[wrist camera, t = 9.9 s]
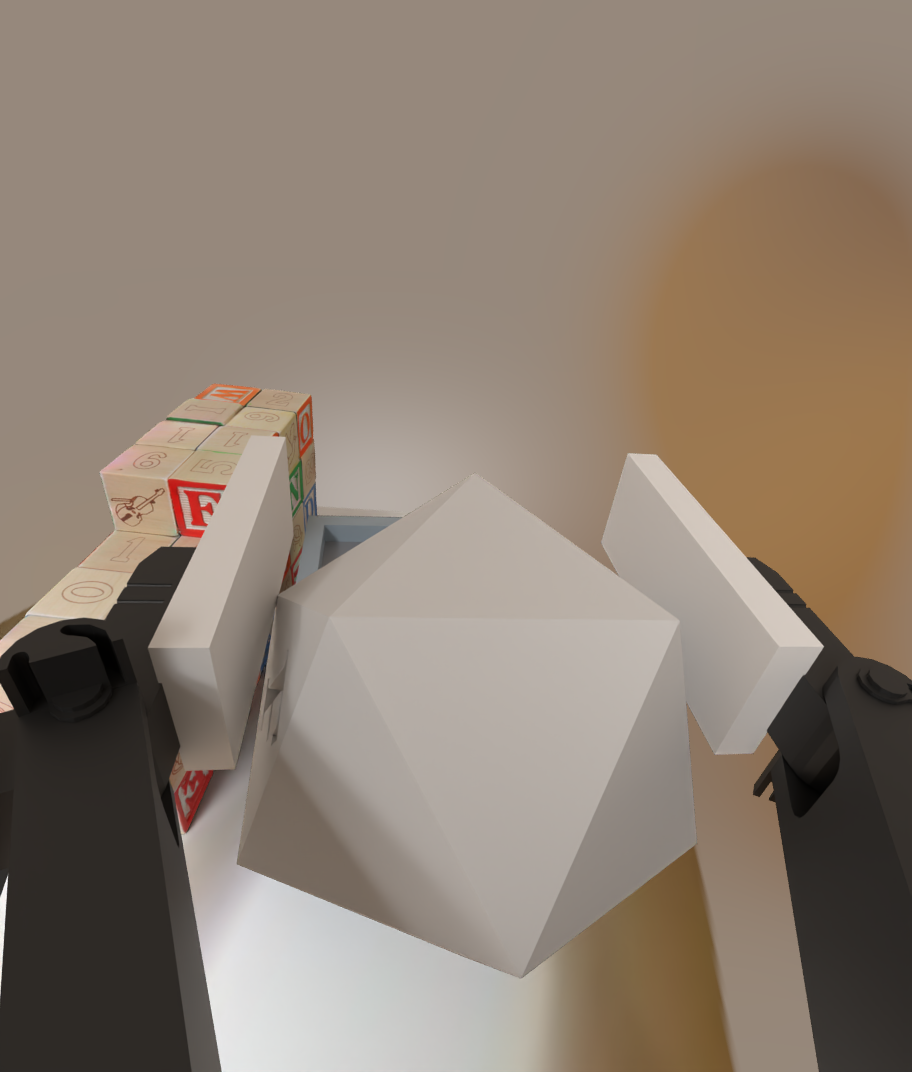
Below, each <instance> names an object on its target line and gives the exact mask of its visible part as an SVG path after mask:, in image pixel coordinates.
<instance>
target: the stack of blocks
mask: <svg viewBox="0 0 912 1072" xmlns="http://www.w3.org/2000/svg"><path fill="white" fill-rule="evenodd" d="M251 435H255V436H276V437H286V447H287V459H288V471H289V484H290V496H291V509H292V521H293V533H294V536H293V540H292V544H291V548H290V552H289V556H288V560H287V564H286V568H285V572H284V576H283V580H282V584H281V588H280V592H279V594H280V593H282V592H283V591H285V590H287V589H288V588H290V587H291V586H293V585H295V584H296V579H297V574H298V569H299V563H300V558H301V553H302V548H303V542H304V537H305V532H306V527H307V521H308V516H309V515H313V516H317V505H316V482H315V479H316V472H315V449H314V439H313V418H312V398H311V395H309V394H303V393H296V392H288V391H280V390H271V389H263V390H261V389H259V388H252V387H243V386H233V385H222V384H212V385H211V386H209V387H208V388H207V389H206V390H205V391H203V392H202V393H200V394H199V395H198V396H196V397H195V398H194V399H188V400H187V401H185V402H184V403H183V404H181V405H180V406H179V407H178V408H176V409H175V410H174V411H173V412H171V413H170V414H169V415H168V416H167V419H166V420H165V421H161V422H160V423H158V424H157V425H156V426H155V427H153V428H152V429H151V430H149V431H148V432H147V433H146V434H145V435H144V436H142V437H141V438H140V439H138V440H137V442H136V444H135V445H132V446H131V447H130V448H128V449H127V450H126V451H125V452H123V453H122V454H121V455H120V456H118V457H117V458H116V459H115V460H113V461H112V462H111V463H110V464H109V465H107V466H106V467H105V468H103V469H102V470H101V471H100V473H99V474H100V476H101V480H102V484H103V487H104V491H105V494H106V498H107V502H108V505H109V509H110V513H111V517H112V521H113V524H114V528H115V530H114V531H113V532H112V533H111V534H110V535H109V536H108V537H107V538H106V539H105V540H104V541H103V542H102V543H101V544H100V545H99V546H98V547H97V548H96V549H95V550H94V551H93V552H92V553H91V554H90V555H89V556H88V557H87V558H85V559H84V560H83V561H82V562H81V563H80V565H79V566H78V567H77V568H74V569H72V570H71V571H70V572H69V573H68V574H67V575H66V576H65V577H64V578H63V579H62V580H60V582H59V583H57V584H56V585H55V586H54V587H53V588H52V589H51V590H50V591H49V592H48V593H47V594H46V595H45V596H44V597H43V598H42V599H41V600H39V601H38V602H37V603H36V604H35V605H34V606H33V607H32V608H31V609H30V610H29V611H28V612H27V613H26V615H25V618H24V619H22V620H21V621H20V622H19V623H18V624H17V625H16V626H15V627H14V628H12V629H11V630H10V631H9V632H8V633H7V634H6V635H5V636H4V637H3V638H2V639H1V640H0V657H1V655H2V654H3V653H5V652H6V651H7V650H8V649H9V648H10V647H11V646H12V645H13V644H14V643H15V642H16V641H17V640H19V639H20V638H22V637H24V636H25V635H27V634H29V633H31V632H32V631H34V630H36V629H37V628H40V627H43V626H46V625H49V624H52V623H55V622H58V621H61V620H68V619H76V618H83V617H85V618H93V619H101V620H105V618H106V617H107V615H108V613H109V612H110V610H111V608H112V607H113V605H114V604H117V598H118V597H119V595H120V593H121V592H122V590H123V589H124V587H127V582H128V580H129V579H130V577H131V575H132V574H133V572H134V570H135V569H136V567H137V566H138V564H139V563H140V562H141V561H143V560H144V559H145V558H147V557H148V556H149V555H150V554H152V553H153V552H154V551H156V550H157V549H158V548H160V547H161V546H162V547H197V546H198V544H199V542H200V540H201V538H202V535H203V533H204V531H205V529H206V527H207V525H208V523H209V521H210V519H211V517H212V515H213V513H214V511H215V509H216V507H217V505H218V503H219V500H220V498H221V496H222V494H223V492H224V490H225V488H226V486H227V484H228V482H229V480H230V478H231V476H232V474H233V472H234V470H235V468H236V466H237V463H238V461H239V459H240V457H241V455H242V453H243V451H244V449H245V447H246V445H247V443H248V441H249V439H250V437H251ZM274 613H275V612H274ZM273 620H274V616H273ZM273 620H272V624H271V628H270V632H269V636H268V640H267V644H266V648H265V652H264V656H263V660H262V664H261V668H260V672H259V676H258V680H257V683H258V681H259V679H260V677H261V672H262V670H263V668H264V666H265V663H266V661H267V659H268V653H269V646H270V640H271V633H272V627H273ZM256 685H257V684H256ZM12 709H14V708H13V706H12V704H11V702H10V701H9V699H8V697H7V695H6V693H5V691H4V689H3V688H2V686H1V684H0V713H3V712H6V711H9V710H12ZM213 771H214V770H196V771H185V769H184V766H183V763H182V759H181V756H180V753H179V752H178V755H177V758H176V760H175V763H174V766H173V769H172V772H171V775H170V778H169V779H170V782H171V785H172V788H173V791H174V796H175V802H176V808H177V813H178V819H179V825H180V831H181V834H185V833H186V832H187V830H188V828H189V826H190V823H191V821H192V819H193V817H194V814H195V812H196V810H197V808H198V805H199V803H200V801H201V799H202V797H203V794H204V792H205V790H206V788H207V786H208V783H209V781H210V779H211V777H212V775H213Z"/></svg>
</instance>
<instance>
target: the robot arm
mask: <svg viewBox="0 0 912 1072" xmlns="http://www.w3.org/2000/svg"><path fill="white" fill-rule="evenodd" d="M293 536H294V533H293V521H292V509H291V496H290V484H289V471H288V459H287V447H286V437H276V436H255V435H251V437H250V439H249V441H248V443H247V445H246V447H245V449H244V451H243V453H242V455H241V457H240V459H239V461H238V463H237V466H236V468H235V470H234V472H233V474H232V476H231V478H230V480H229V482H228V484H227V486H226V488H225V490H224V492H223V494H222V496H221V498H220V500H219V503H218V505H217V507H216V509H215V511H214V513H213V515H212V517H211V519H210V521H209V523H208V525H207V527H206V529H205V531H204V533H203V535H202V538H201V540H200V542H199V544H198V546H197V547H162V546H161V547H160V548H158V549H157V550H156V551H154V552H153V553H152V554H150V555H149V556H148V557H147V558H145V559H144V560H143V561H141V562H140V563H139V564H138V566H137V567H136V569H135V570H134V572H133V574H132V575H131V577H130V579H129V580H128V582H127V587H124V589H123V590H122V592H121V593H120V595H119V597H118V598H117V604H114V605H113V607H112V608H111V610H110V612H109V613H108V615H107V617H106V618H105V620H101V619H93V618H85V617H83V618H76V619H68V620H61V621H58V622H55V623H52V624H49V625H46V626H43V627H40V628H37V629H36V630H34V631H32V632H31V633H29V634H27V635H25V636H24V637H22V638H20V639H19V640H17V641H16V642H15V643H14V644H13V645H12V646H11V647H10V648H9V649H8V650H7V651H6V652H5V653H3V654H2V655H1V657H0V684H1V686H2V688H3V689H4V691H5V693H6V695H7V697H8V699H9V701H10V702H11V704H12V706H13V708H14V709H12V710H9V711H6V712H3V713H0V896H1V893H2V890H3V887H4V884H5V881H6V878H7V876H8V887H7V902H6V918H5V933H4V949H3V964H2V980H1V995H0V1072H222V1071H221V1065H220V1060H219V1054H218V1048H217V1042H216V1036H215V1030H214V1024H213V1019H212V1013H211V1007H210V1001H209V995H208V989H207V983H206V977H205V972H204V966H203V960H202V954H201V948H200V942H199V936H198V931H197V925H196V919H195V913H194V907H193V901H192V895H191V890H190V884H189V878H188V872H187V866H186V860H185V854H184V849H183V843H182V837H181V831H180V825H179V819H178V813H177V808H176V802H175V796H174V791H173V788H172V785H171V782H170V779H169V778H170V775H171V772H172V769H173V766H174V763H175V760H176V758H177V755H178V752H179V753H180V756H181V759H182V763H183V766H184V769H185V771H196V770H229V769H235V768H236V764H237V760H238V756H239V752H240V748H241V744H242V740H243V736H244V732H245V728H246V724H247V720H248V716H249V712H250V708H251V704H252V700H253V696H254V692H255V688H256V684H257V680H258V676H259V672H260V668H261V664H262V660H263V656H264V652H265V648H266V644H267V640H268V636H269V632H270V628H271V624H272V620H273V616H274V612H275V608H276V603H277V596H278V594H279V592H280V588H281V584H282V580H283V576H284V572H285V568H286V564H287V560H288V556H289V552H290V548H291V544H292V540H293ZM601 544H602V546H603V547H604V549H605V551H606V553H607V555H608V557H609V559H610V560H611V562H612V564H613V566H614V568H615V570H616V572H617V574H618V576H619V577H620V578H622V579H623V580H625V581H626V582H627V583H629V584H630V585H631V586H633V587H634V588H636V589H637V590H638V591H640V592H641V593H643V594H644V595H645V596H647V597H648V598H649V599H651V600H652V601H654V602H655V603H656V604H658V605H659V606H661V607H662V608H663V609H665V610H666V611H667V612H669V613H670V614H672V615H673V616H674V617H676V618H677V619H678V620H680V629H681V642H682V655H683V668H684V681H685V694H686V702H687V704H688V706H689V708H690V710H691V712H692V713H693V715H694V717H695V719H696V721H697V723H698V725H699V727H700V729H701V730H702V732H703V734H704V736H705V738H706V740H707V742H708V743H709V745H710V747H711V749H712V751H713V753H714V755H721V754H753V753H754V752H755V750H756V749H757V747H758V746H759V744H760V743H761V741H762V740H763V738H764V737H765V735H766V734H767V732H768V733H769V735H770V736H771V738H772V739H773V741H774V742H775V744H776V746H777V747H778V749H779V750H778V751H777V753H776V754H775V756H774V757H773V759H772V760H771V762H770V763H769V764H768V766H767V767H766V769H765V770H764V772H763V773H762V774H761V776H760V777H759V779H758V780H757V782H756V783H755V784H754V791H753V795H755V796H758V797H760V796H761V794H762V793H763V792H764V790H765V789H766V787H767V786H768V785H769V783H770V782H772V783H773V789H774V791H773V793H772V794H771V796H770V798H769V800H770V801H773V802H776V808H777V813H778V820H779V826H780V833H781V839H782V845H783V851H784V857H785V863H786V870H787V876H788V882H789V889H790V894H791V901H792V907H793V913H794V920H795V926H796V932H797V938H798V945H799V951H800V957H801V963H802V969H803V975H804V982H805V987H806V994H807V1001H808V1007H809V1012H810V1019H811V1025H812V1032H813V1038H814V1044H815V1050H816V1057H817V1063H818V1069H819V1072H912V680H910V679H909V678H908V677H907V676H906V675H904V674H902V673H900V672H899V671H897V670H895V669H893V668H892V667H890V666H888V665H885V664H883V663H880V662H878V661H875V660H872V659H867V658H861V657H854V656H853V655H852V654H851V653H850V652H849V650H848V649H847V648H846V647H845V646H844V645H843V644H842V643H841V642H840V641H839V639H838V638H837V637H836V636H835V635H834V634H833V633H832V632H831V631H830V630H829V629H828V627H827V626H826V625H825V624H824V623H823V622H822V621H821V620H820V619H819V618H818V617H817V615H816V614H815V613H814V612H813V611H812V610H811V609H810V608H806V604H805V602H804V601H803V600H802V599H801V598H800V597H799V596H798V595H797V594H796V593H795V594H794V593H793V589H792V588H791V587H790V586H789V585H788V584H787V583H786V582H785V580H784V579H783V578H782V577H781V576H780V575H779V574H778V573H777V572H775V571H774V570H772V569H771V568H770V567H768V566H767V565H765V564H763V563H762V562H761V561H759V560H758V559H756V558H749V557H745V556H744V555H743V553H742V552H741V551H740V550H739V549H738V547H737V546H736V545H735V544H734V543H733V542H732V541H731V539H729V537H728V536H727V535H726V534H725V533H724V532H723V530H722V529H721V528H720V527H719V526H718V525H717V523H716V522H715V521H714V520H713V519H712V518H711V517H710V515H709V514H708V513H707V512H706V511H705V510H704V509H703V507H702V506H701V505H700V504H699V503H698V502H697V501H696V499H695V498H694V497H693V496H692V495H691V494H690V493H689V492H688V490H687V489H686V488H685V487H684V486H683V485H682V483H681V482H680V481H679V480H678V479H677V478H676V477H675V475H674V474H673V473H672V472H671V471H670V470H669V468H668V467H667V466H666V465H665V464H664V463H663V462H662V460H661V459H660V458H659V457H658V456H657V455H650V454H629V453H628V454H627V458H626V461H625V464H624V468H623V471H622V474H621V478H620V481H619V484H618V488H617V491H616V494H615V498H614V501H613V504H612V508H611V512H610V515H609V518H608V521H607V525H606V528H605V531H604V534H603V538H602V541H601Z"/></svg>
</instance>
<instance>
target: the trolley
mask: <svg viewBox="0 0 912 1072" xmlns="http://www.w3.org/2000/svg"><path fill="white" fill-rule="evenodd" d="M401 518H403V517H360V516H313V515H309V516H308V521H307V527H306V532H305V537H304V542H303V548H302V553H301V558H300V563H299V569H298V574H297V579H296V583H298V582H299V581H301V580H303V579H304V578H306V577H307V576H309V575H311V574H312V573H314V572H316V571H317V570H319V569H320V568H322V567H324V566H325V565H327V564H328V563H330V562H332V561H333V560H335V559H336V558H338V557H340V556H341V555H343V554H345V553H346V552H348V551H349V550H351V549H353V548H354V547H356V546H357V545H359V544H361V543H362V542H364V541H365V540H367V539H369V538H370V537H372V536H374V535H375V534H377V533H378V532H380V531H382V530H383V529H385V528H386V527H388V526H390V525H391V524H393V523H395V522H396V521H398V520H399V519H401Z"/></svg>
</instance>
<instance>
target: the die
mask: <svg viewBox="0 0 912 1072" xmlns="http://www.w3.org/2000/svg"><path fill="white" fill-rule="evenodd" d="M696 844H697V834H696V822H695V809H694V796H693V784H692V771H691V758H690V745H689V732H688V719H687V706H686V694H685V681H684V668H683V655H682V642H681V629H680V620H678V619H677V618H676V617H674V616H673V615H672V614H670V613H669V612H667V611H666V610H665V609H663V608H662V607H661V606H659V605H658V604H656V603H655V602H654V601H652V600H651V599H649V598H648V597H647V596H645V595H644V594H643V593H641V592H640V591H638V590H637V589H636V588H634V587H633V586H631V585H630V584H629V583H627V582H626V581H625V580H623V579H622V578H620V577H619V576H617V575H616V574H615V573H613V572H612V571H611V570H609V569H608V568H606V567H605V566H604V565H602V564H601V563H600V562H598V561H597V560H596V559H594V558H593V557H591V556H590V555H589V554H587V553H586V552H584V551H583V550H582V549H580V548H579V547H578V546H576V545H575V544H573V543H572V542H571V541H569V540H568V539H566V538H565V537H564V536H562V535H561V534H559V533H558V532H557V531H555V530H554V529H553V528H551V527H550V526H548V525H547V524H546V523H544V522H543V521H542V520H540V519H539V518H537V517H536V516H535V515H533V514H532V513H531V512H529V511H528V510H526V509H525V508H524V507H522V506H521V505H520V504H518V503H517V502H515V501H514V500H512V499H511V498H510V497H508V496H507V495H506V494H504V493H503V492H502V491H500V490H499V489H497V488H496V487H495V486H493V485H492V484H490V483H489V482H488V481H486V480H485V479H484V478H482V477H481V476H479V475H478V474H477V473H473V474H472V475H470V476H469V477H467V478H465V479H464V480H462V481H461V482H459V483H457V484H456V485H454V486H453V487H451V488H449V489H448V490H446V491H444V492H443V493H441V494H440V495H438V496H436V497H435V498H433V499H432V500H430V501H428V502H427V503H425V504H424V505H422V506H420V507H419V508H417V509H415V510H414V511H412V512H411V513H409V514H407V515H406V516H404V517H403V518H401V519H399V520H398V521H396V522H395V523H393V524H391V525H390V526H388V527H386V528H385V529H383V530H382V531H380V532H378V533H377V534H375V535H374V536H372V537H370V538H369V539H367V540H365V541H364V542H362V543H361V544H359V545H357V546H356V547H354V548H353V549H351V550H349V551H348V552H346V553H345V554H343V555H341V556H340V557H338V558H336V559H335V560H333V561H332V562H330V563H328V564H327V565H325V566H324V567H322V568H320V569H319V570H317V571H316V572H314V573H312V574H311V575H309V576H307V577H306V578H304V579H303V580H301V581H299V582H298V583H296V584H295V585H293V586H291V587H290V588H288V589H287V590H285V591H283V592H282V593H280V594H278V596H277V603H276V608H275V613H274V620H273V627H272V633H271V640H270V646H269V653H268V660H267V666H266V673H265V680H264V686H263V693H262V700H261V706H260V713H259V720H258V726H257V733H256V739H255V746H254V753H253V759H252V766H251V773H250V779H249V786H248V793H247V799H246V806H245V812H244V819H243V826H242V832H241V839H240V846H239V852H238V859H237V865H240V866H242V867H245V868H247V869H250V870H252V871H255V872H257V873H260V874H262V875H264V876H267V877H269V878H272V879H274V880H277V881H279V882H282V883H284V884H287V885H289V886H291V887H294V888H296V889H299V890H301V891H304V892H306V893H309V894H311V895H314V896H316V897H318V898H321V899H323V900H326V901H328V902H331V903H333V904H336V905H338V906H341V907H343V908H345V909H348V910H350V911H353V912H355V913H358V914H360V915H363V916H365V917H368V918H370V919H372V920H375V921H377V922H380V923H382V924H385V925H387V926H390V927H392V928H395V929H397V930H399V931H402V932H404V933H407V934H409V935H412V936H414V937H417V938H419V939H422V940H424V941H426V942H429V943H431V944H434V945H436V946H439V947H441V948H444V949H446V950H448V951H451V952H453V953H456V954H458V955H461V956H463V957H466V958H468V959H471V960H474V961H476V962H479V963H482V964H484V965H487V966H490V967H492V968H495V969H498V970H500V971H503V972H506V973H508V974H511V975H514V976H516V977H519V978H522V977H524V976H525V975H526V974H528V973H529V972H530V971H532V970H533V969H534V968H536V967H537V966H538V965H539V964H541V963H542V962H543V961H545V960H546V959H547V958H549V957H550V956H551V955H552V954H554V953H555V952H556V951H558V950H559V949H560V948H562V947H563V946H564V945H565V944H567V943H568V942H569V941H571V940H572V939H573V938H575V937H576V936H577V935H578V934H580V933H581V932H582V931H584V930H585V929H586V928H588V927H589V926H590V925H592V924H593V923H594V922H595V921H597V920H598V919H599V918H601V917H602V916H603V915H605V914H606V913H607V912H608V911H610V910H611V909H612V908H614V907H615V906H616V905H618V904H619V903H620V902H621V901H623V900H624V899H625V898H627V897H628V896H629V895H631V894H632V893H633V892H634V891H636V890H637V889H638V888H640V887H641V886H642V885H644V884H645V883H646V882H647V881H649V880H650V879H651V878H653V877H654V876H655V875H657V874H658V873H659V872H661V871H662V870H663V869H664V868H666V867H667V866H668V865H670V864H671V863H672V862H674V861H675V860H676V859H677V858H679V857H680V856H681V855H683V854H684V853H685V852H687V851H688V850H689V849H690V848H692V847H693V846H694V845H696Z"/></svg>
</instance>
